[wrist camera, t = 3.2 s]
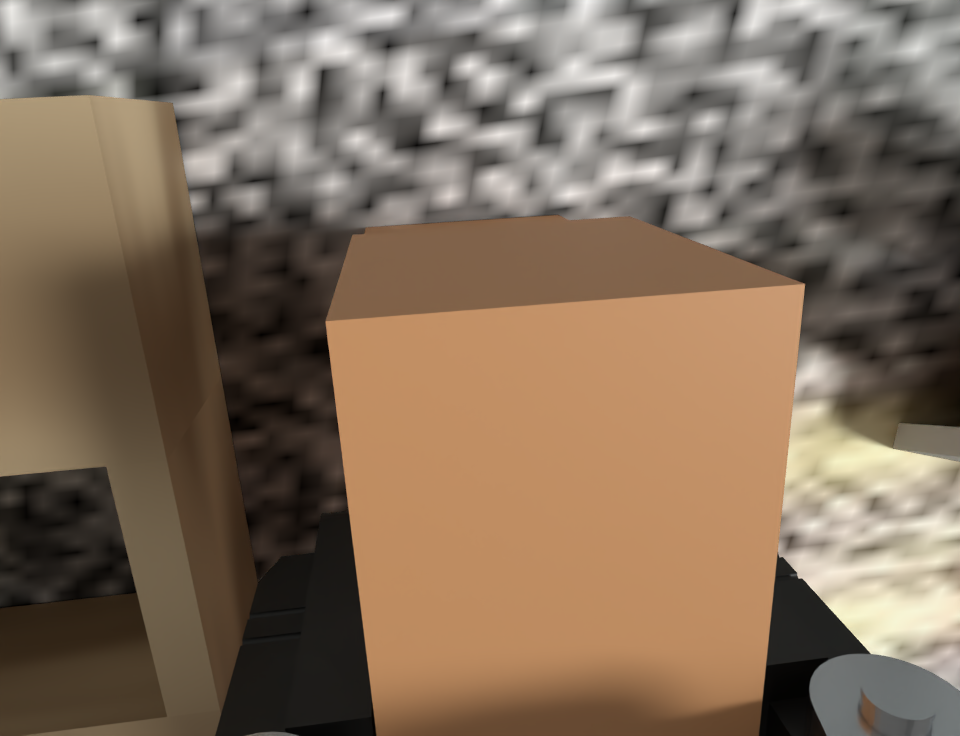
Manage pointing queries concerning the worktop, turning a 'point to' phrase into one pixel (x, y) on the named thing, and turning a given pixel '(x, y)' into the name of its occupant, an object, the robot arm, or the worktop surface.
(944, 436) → the grey piece
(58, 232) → the rail
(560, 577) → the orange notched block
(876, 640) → the worktop surface
